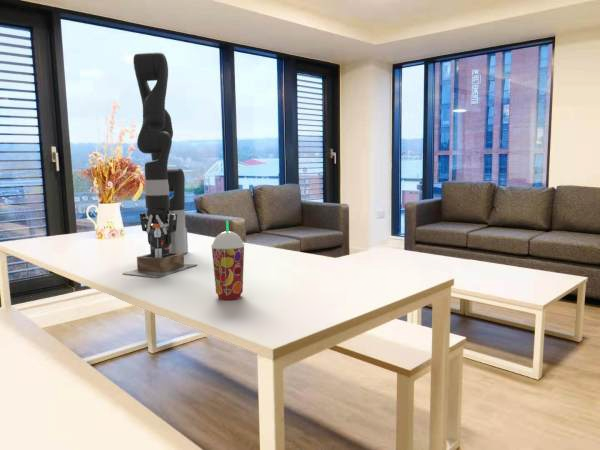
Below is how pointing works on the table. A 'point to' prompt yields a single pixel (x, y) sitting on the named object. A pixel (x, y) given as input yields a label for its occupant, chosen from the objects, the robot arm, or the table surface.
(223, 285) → the smoothie
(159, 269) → the well
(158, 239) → the pill bottle
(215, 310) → the table surface
